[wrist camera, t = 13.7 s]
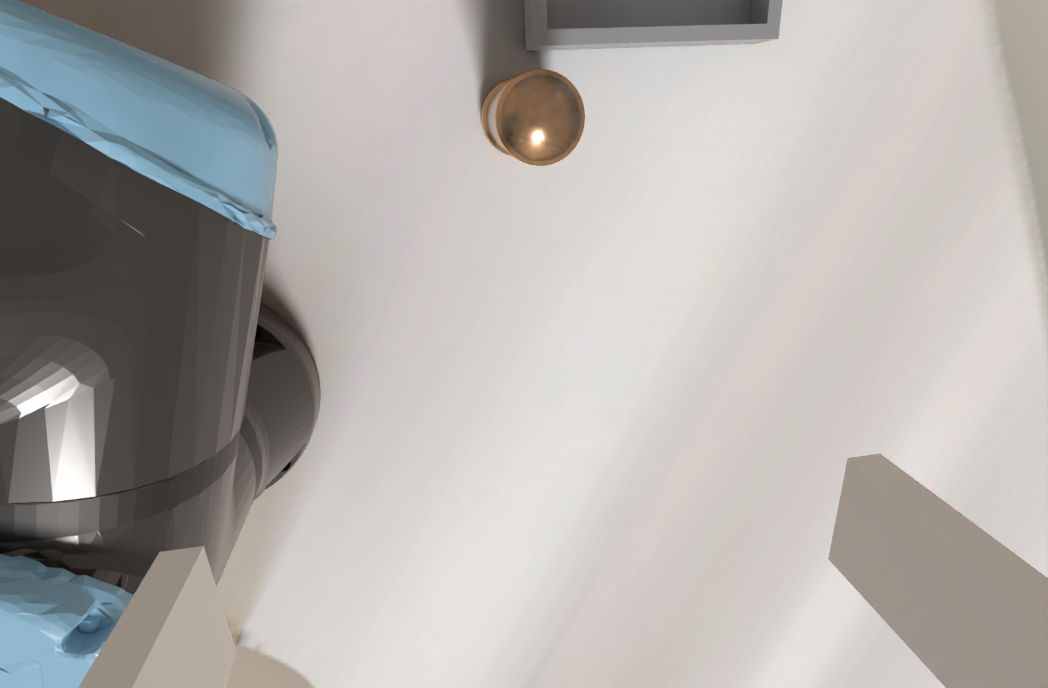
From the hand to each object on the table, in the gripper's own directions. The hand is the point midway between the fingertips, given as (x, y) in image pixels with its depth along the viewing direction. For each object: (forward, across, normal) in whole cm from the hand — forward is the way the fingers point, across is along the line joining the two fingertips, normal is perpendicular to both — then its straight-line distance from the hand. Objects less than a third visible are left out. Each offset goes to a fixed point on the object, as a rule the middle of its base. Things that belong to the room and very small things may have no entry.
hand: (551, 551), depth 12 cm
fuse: (+29, +4, +8) cm, 30 cm away
